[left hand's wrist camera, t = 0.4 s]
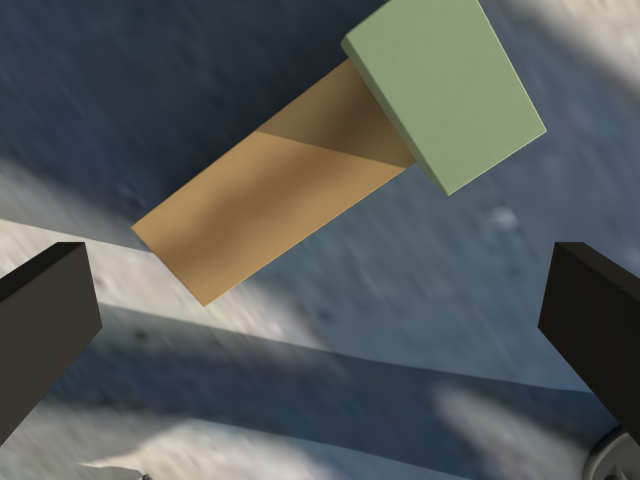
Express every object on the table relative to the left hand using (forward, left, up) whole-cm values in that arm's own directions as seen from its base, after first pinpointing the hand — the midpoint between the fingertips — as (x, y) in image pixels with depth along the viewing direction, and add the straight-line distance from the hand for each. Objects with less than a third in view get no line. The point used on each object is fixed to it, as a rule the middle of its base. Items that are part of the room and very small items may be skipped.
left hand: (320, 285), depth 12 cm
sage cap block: (0, -8, -18) cm, 20 cm away
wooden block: (0, +1, -25) cm, 25 cm away
